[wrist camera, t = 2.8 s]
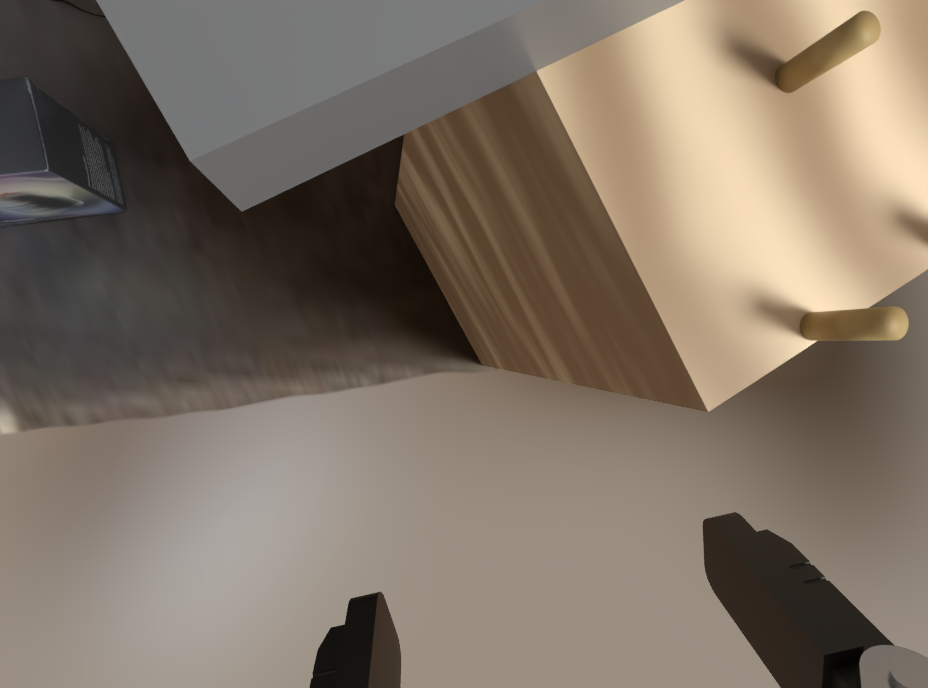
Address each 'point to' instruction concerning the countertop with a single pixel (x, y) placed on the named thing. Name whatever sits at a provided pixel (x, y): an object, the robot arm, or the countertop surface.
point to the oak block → (685, 197)
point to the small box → (51, 161)
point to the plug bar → (336, 72)
